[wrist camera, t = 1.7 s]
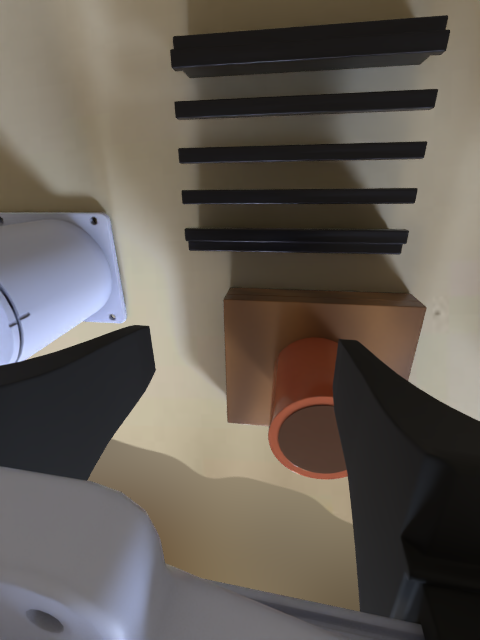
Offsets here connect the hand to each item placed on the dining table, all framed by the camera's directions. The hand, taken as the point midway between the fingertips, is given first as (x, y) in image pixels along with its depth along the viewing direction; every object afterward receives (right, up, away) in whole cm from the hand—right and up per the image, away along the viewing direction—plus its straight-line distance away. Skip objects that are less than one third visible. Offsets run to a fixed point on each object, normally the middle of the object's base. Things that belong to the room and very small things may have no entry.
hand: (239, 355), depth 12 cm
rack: (+3, +11, +6) cm, 13 cm away
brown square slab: (+5, -1, +11) cm, 13 cm away
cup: (+5, -2, +9) cm, 11 cm away
